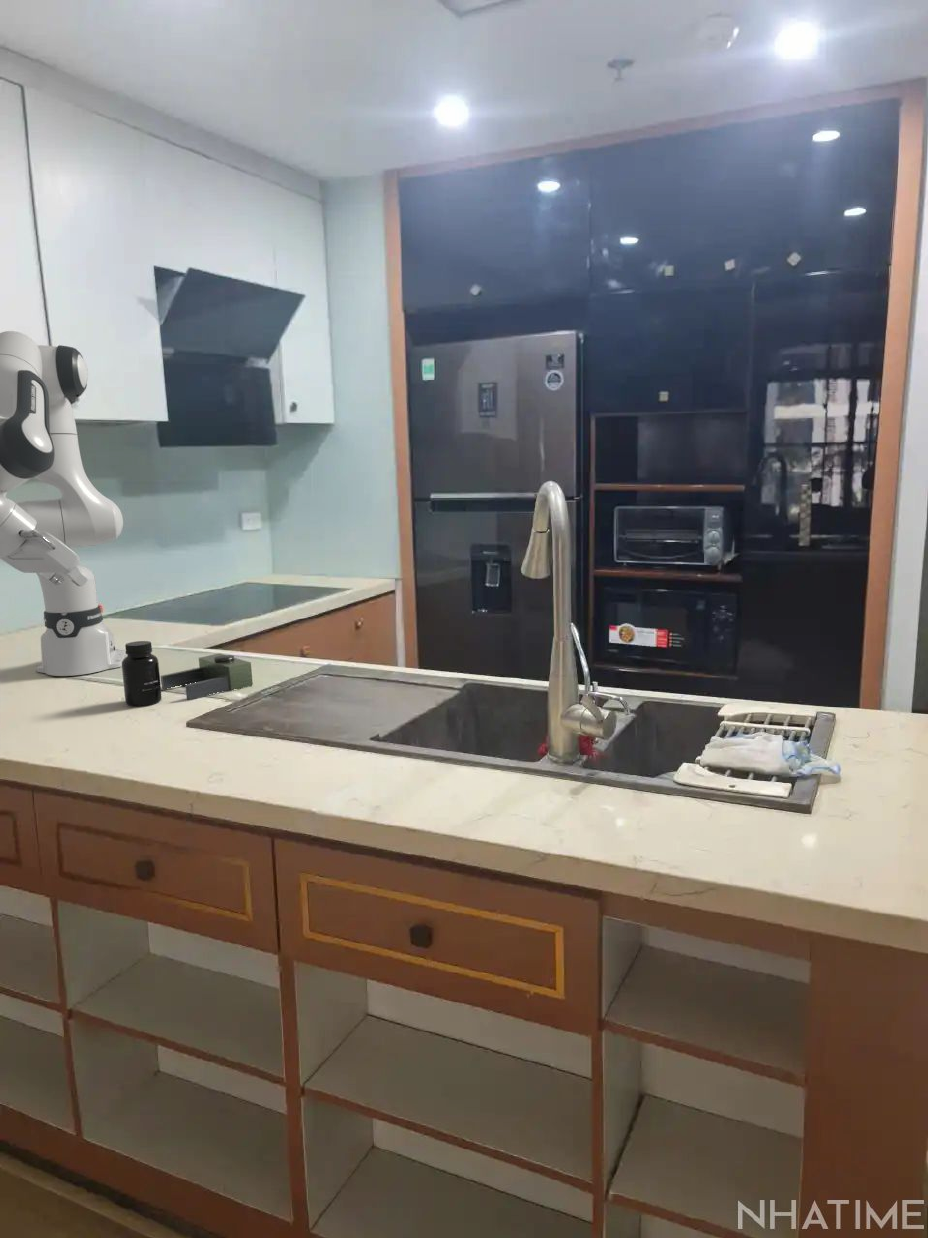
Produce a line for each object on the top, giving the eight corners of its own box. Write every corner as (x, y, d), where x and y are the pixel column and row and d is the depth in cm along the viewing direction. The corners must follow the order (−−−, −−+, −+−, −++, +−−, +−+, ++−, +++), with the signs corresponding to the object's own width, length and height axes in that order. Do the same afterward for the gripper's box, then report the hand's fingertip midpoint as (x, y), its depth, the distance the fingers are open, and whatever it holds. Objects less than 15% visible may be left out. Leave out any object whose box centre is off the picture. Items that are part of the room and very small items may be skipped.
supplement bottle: (155, 706, 171) (148, 646, 168) (120, 708, 171) (113, 647, 168) (167, 696, 177) (161, 638, 175) (133, 697, 178) (127, 639, 175)
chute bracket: (190, 700, 174) (187, 673, 173) (160, 689, 183) (158, 663, 182) (252, 685, 183) (250, 659, 182) (221, 675, 193) (219, 650, 191)
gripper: (47, 516, 147) (109, 570, 155) (-1, 520, 161) (58, 569, 169) (22, 545, 144) (87, 597, 153) (-25, 546, 158) (37, 595, 166)
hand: (71, 582), depth 161 cm, fingers open, 8 cm apart
